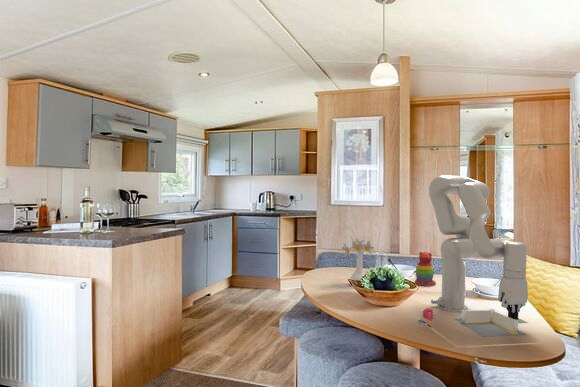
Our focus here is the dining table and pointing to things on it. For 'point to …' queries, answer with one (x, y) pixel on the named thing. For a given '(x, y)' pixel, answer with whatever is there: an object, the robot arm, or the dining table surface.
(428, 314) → the toy pieces
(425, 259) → the stacking bear
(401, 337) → the dining table surface
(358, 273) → the flower vase
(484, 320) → the fence base
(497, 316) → the fence gate
